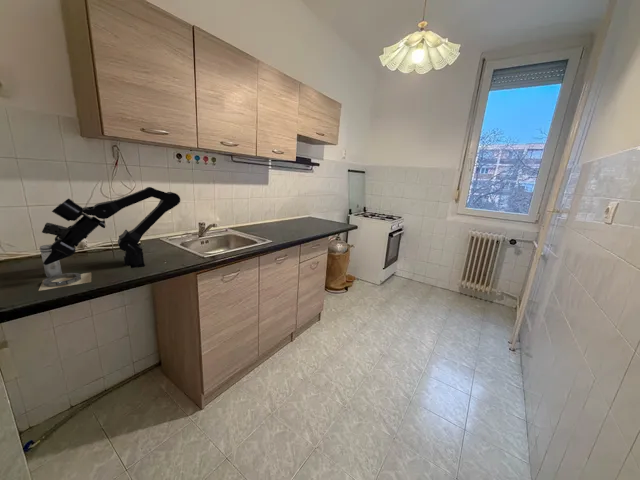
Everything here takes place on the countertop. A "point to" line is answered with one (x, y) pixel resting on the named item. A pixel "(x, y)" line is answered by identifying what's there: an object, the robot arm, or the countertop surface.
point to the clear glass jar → (53, 267)
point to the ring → (51, 284)
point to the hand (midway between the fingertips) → (46, 260)
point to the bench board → (84, 279)
